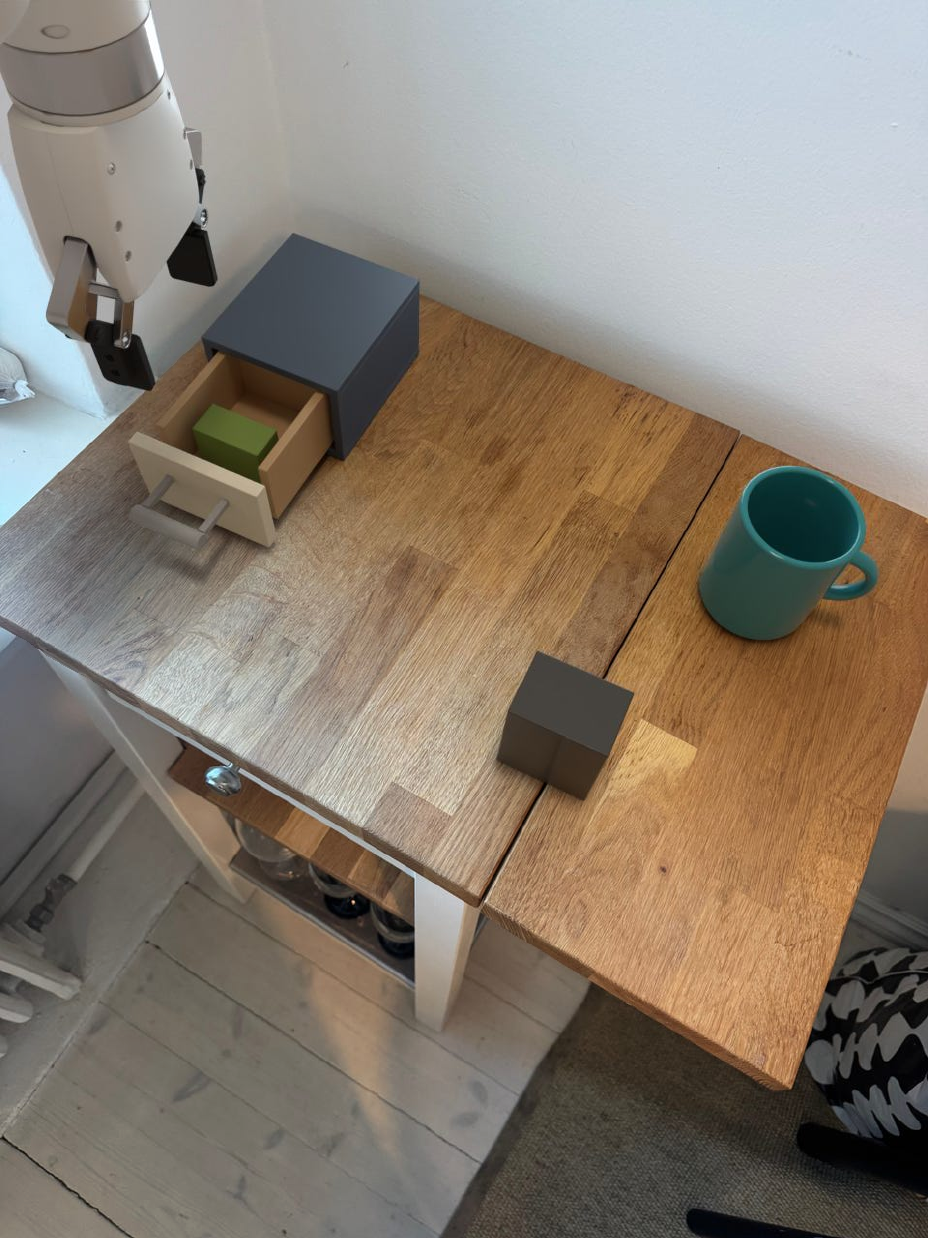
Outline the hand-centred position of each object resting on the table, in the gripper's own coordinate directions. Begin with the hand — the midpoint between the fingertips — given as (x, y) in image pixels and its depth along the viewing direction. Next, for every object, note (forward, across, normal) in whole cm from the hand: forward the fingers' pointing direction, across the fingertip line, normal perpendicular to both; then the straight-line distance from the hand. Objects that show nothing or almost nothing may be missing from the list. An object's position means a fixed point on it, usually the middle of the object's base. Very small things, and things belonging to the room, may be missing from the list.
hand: (164, 329), depth 57 cm
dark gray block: (+20, +13, +31) cm, 39 cm away
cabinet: (+20, -17, +3) cm, 26 cm away
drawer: (+19, -3, +1) cm, 19 cm away
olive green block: (+18, -4, +1) cm, 18 cm away
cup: (+20, -5, +46) cm, 50 cm away
